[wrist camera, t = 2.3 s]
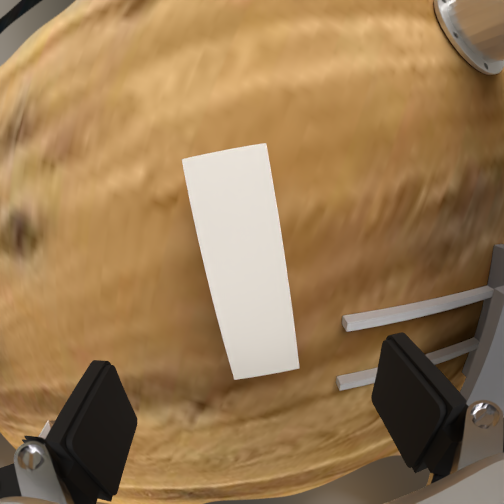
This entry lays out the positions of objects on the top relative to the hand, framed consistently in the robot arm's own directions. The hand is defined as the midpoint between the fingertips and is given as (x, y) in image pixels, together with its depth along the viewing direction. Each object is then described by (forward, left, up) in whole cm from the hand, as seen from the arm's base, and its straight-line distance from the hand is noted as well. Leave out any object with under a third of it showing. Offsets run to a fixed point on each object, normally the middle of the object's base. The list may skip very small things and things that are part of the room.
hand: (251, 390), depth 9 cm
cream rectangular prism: (0, 0, -17) cm, 17 cm away
